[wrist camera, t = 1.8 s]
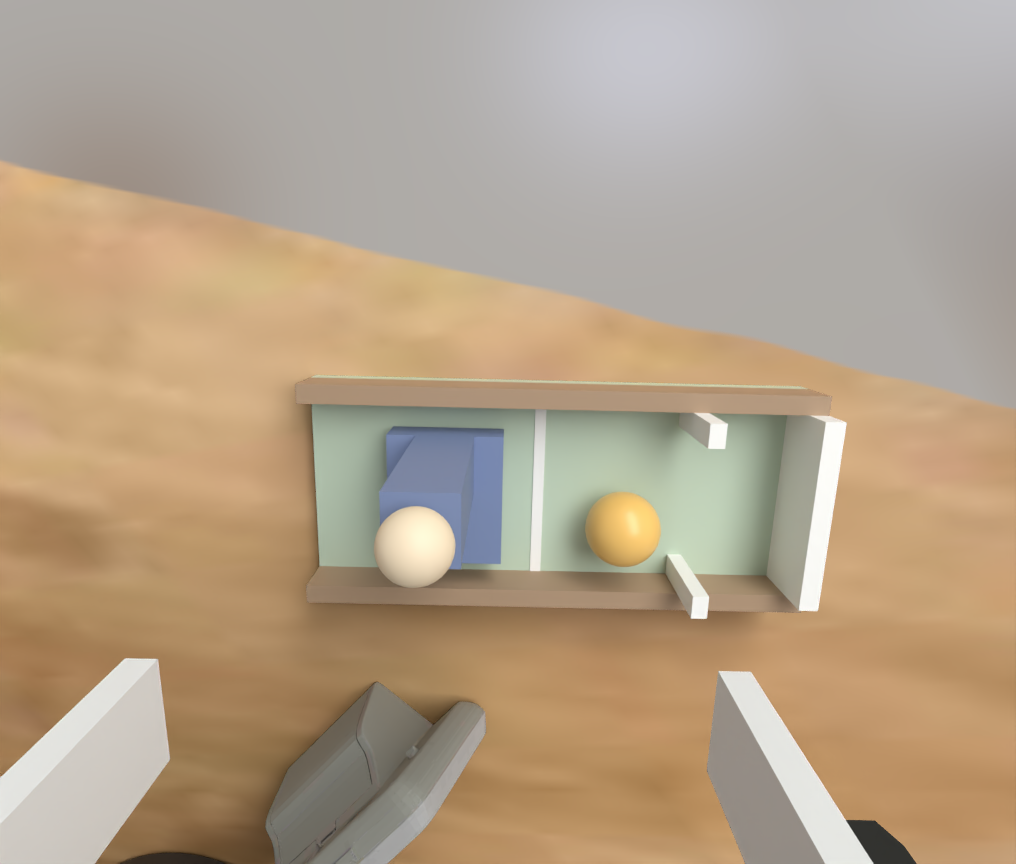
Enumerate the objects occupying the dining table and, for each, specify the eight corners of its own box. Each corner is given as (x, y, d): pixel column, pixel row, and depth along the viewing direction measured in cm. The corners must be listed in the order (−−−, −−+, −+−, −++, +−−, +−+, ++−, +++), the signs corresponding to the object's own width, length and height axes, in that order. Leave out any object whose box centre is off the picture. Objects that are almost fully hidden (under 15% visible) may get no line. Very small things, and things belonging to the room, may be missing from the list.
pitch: (325, 574, 36) (290, 628, 30) (316, 374, 33) (275, 392, 28) (773, 583, 36) (825, 639, 31) (800, 386, 34) (861, 406, 28)
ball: (579, 547, 35) (588, 579, 31) (582, 481, 34) (592, 505, 30) (648, 548, 35) (666, 581, 31) (653, 482, 34) (673, 507, 30)
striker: (395, 546, 34) (323, 709, 21) (393, 426, 33) (313, 518, 19) (501, 548, 34) (497, 713, 21) (503, 428, 33) (501, 522, 19)
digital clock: (324, 861, 41) (263, 1053, 31) (237, 769, 39) (141, 939, 29) (520, 742, 39) (524, 905, 29) (436, 640, 37) (409, 774, 27)
